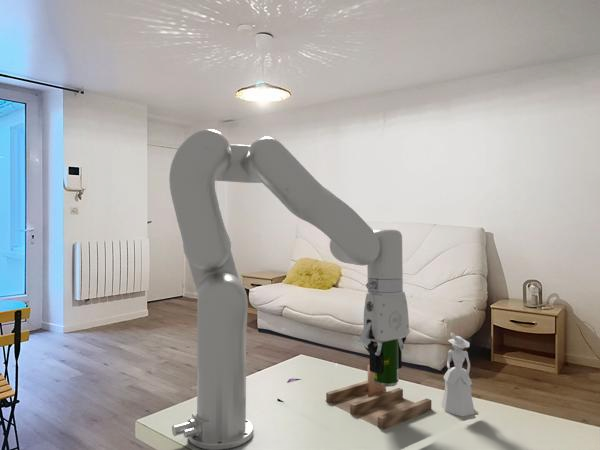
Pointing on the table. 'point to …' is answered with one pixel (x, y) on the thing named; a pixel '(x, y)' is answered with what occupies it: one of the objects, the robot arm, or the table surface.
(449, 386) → the figurine
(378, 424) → the rack
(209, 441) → the robot arm
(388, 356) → the beer can
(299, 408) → the table surface
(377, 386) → the peach rounded cylinder
